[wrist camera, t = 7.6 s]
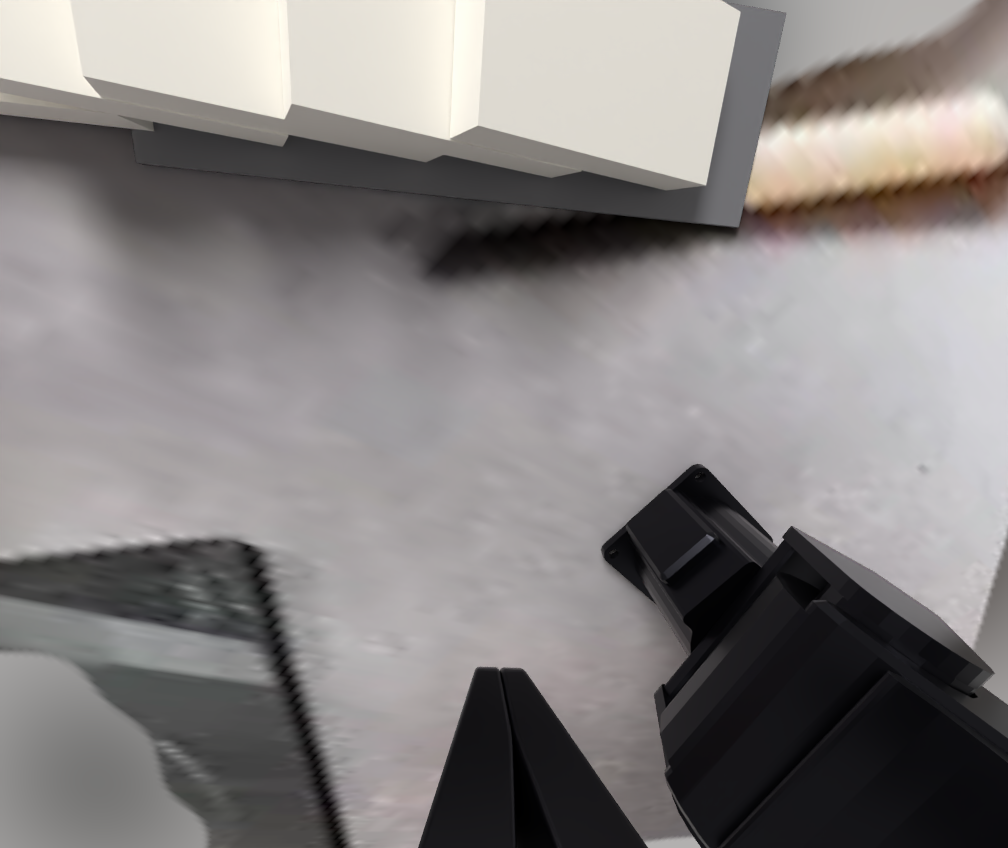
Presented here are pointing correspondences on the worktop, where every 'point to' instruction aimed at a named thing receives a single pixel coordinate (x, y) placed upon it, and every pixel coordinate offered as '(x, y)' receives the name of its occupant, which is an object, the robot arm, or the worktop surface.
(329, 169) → the strip
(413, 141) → the domino
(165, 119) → the domino
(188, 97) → the domino
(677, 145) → the domino
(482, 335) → the worktop surface
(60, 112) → the domino
